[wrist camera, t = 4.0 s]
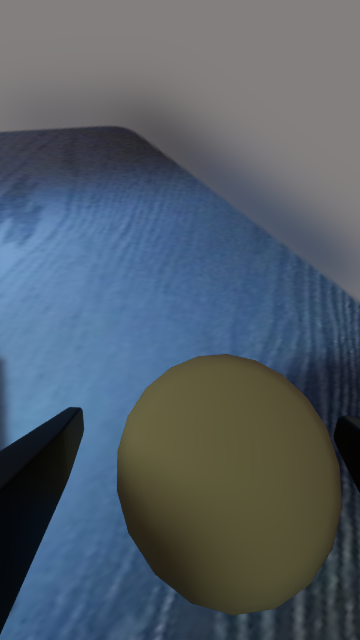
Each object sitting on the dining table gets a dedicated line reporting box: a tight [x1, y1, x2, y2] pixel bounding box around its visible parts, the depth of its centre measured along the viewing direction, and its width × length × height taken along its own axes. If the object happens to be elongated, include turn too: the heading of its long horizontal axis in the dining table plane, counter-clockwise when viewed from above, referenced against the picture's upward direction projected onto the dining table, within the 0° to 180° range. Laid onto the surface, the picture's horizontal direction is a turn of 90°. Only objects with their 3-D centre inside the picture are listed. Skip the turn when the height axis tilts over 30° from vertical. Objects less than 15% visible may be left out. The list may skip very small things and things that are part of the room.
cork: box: [117, 354, 342, 615], centre depth 10 cm, size 6×6×11 cm
